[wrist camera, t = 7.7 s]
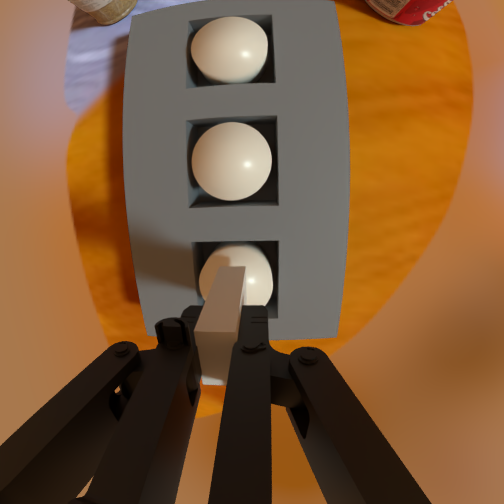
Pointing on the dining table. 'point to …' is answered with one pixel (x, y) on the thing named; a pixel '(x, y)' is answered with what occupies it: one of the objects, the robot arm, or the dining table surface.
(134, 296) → the dining table surface
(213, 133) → the middle button
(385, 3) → the soda can
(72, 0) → the sprinkles bottle
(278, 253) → the button board
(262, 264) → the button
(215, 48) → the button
